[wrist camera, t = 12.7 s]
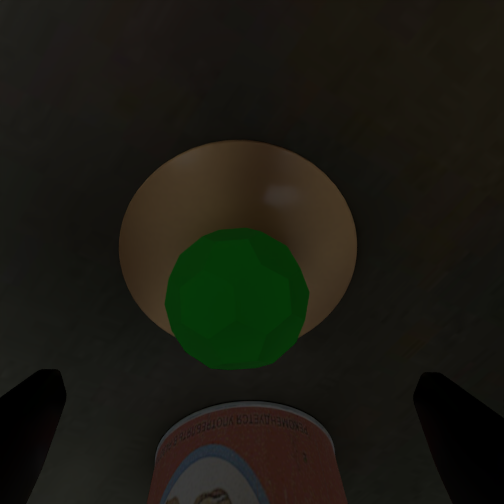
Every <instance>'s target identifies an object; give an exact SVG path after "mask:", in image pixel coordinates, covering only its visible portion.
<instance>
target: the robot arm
mask: <svg viewBox="0 0 504 504" xmlns="http://www.w3.org/2000/svg"><path fill="white" fill-rule="evenodd" d="M413 400H414V405H415V408H416V411H417V414H418V416H419V419H420V422H421V425H422V428H423V431H424V434H425V437H426V439H427V442H428V445H429V448H430V451H431V454H432V457H433V459H434V462H435V465H436V467H437V469H438V472H439V474H440V476H441V479H442V481H443V483H444V485H445V488H446V490H447V492H448V494H449V496H450V499H451V501H452V503H453V504H504V418H503V417H501V416H500V415H498V414H497V413H496V412H494V411H493V410H492V409H490V408H489V407H487V406H486V405H485V404H483V403H482V402H480V401H479V400H478V399H476V398H475V397H473V396H472V395H471V394H469V393H468V392H466V391H465V390H464V389H462V388H461V387H460V386H458V385H457V384H455V383H454V382H453V381H451V380H450V379H448V378H447V377H446V376H444V375H443V374H441V373H437V372H425V373H423V374H422V375H421V377H420V379H419V382H418V384H417V387H416V389H415V392H414V395H413ZM65 402H66V390H65V386H64V383H63V379H62V376H61V373H60V371H59V370H56V369H41V370H39V371H37V372H35V373H34V374H32V375H31V376H30V377H28V378H27V379H25V380H24V381H23V382H21V383H20V384H18V385H17V386H16V387H14V388H13V389H11V390H10V391H9V392H7V393H6V394H4V395H3V396H2V397H0V504H26V503H27V501H28V498H29V496H30V494H31V492H32V490H33V488H34V486H35V483H36V481H37V479H38V477H39V474H40V472H41V470H42V467H43V464H44V462H45V459H46V456H47V453H48V451H49V448H50V445H51V442H52V439H53V436H54V434H55V431H56V428H57V425H58V422H59V419H60V417H61V414H62V411H63V408H64V405H65Z"/></svg>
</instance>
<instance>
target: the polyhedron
mask: <svg viewBox="0 0 504 504" xmlns="http://www.w3.org/2000/svg"><path fill="white" fill-rule="evenodd" d="M309 294H310V292H309V289H308V287H307V284H306V281H305V279H304V276H303V273H302V271H301V268H300V267H299V265H298V263H297V262H296V260H295V258H294V256H293V255H292V253H291V251H290V250H289V248H288V246H286V245H284V244H283V243H281V242H279V241H277V240H276V239H274V238H272V237H270V236H269V235H267V234H265V233H263V232H261V231H257V230H253V229H250V228H234V229H221V230H217V231H214V232H212V233H209V234H207V235H204V236H202V237H201V238H199V239H198V240H197V241H196V242H195V243H193V244H192V245H191V246H190V247H188V248H187V249H186V250H185V251H184V252H182V253H181V254H180V255H179V257H178V259H177V262H176V264H175V266H174V268H173V270H172V272H171V274H170V277H169V279H168V285H167V291H166V297H165V303H164V305H165V308H166V312H167V316H168V319H169V323H170V327H171V330H172V332H173V334H174V335H175V337H176V338H177V340H178V341H179V343H180V344H181V346H182V347H183V349H184V350H185V352H186V353H188V354H189V355H191V356H192V357H194V358H196V359H197V360H199V361H200V362H202V363H203V364H205V365H206V366H208V367H209V368H211V369H223V370H236V369H248V368H258V367H261V366H265V365H268V364H272V363H274V362H275V361H276V360H277V359H278V358H279V357H281V356H282V355H283V354H284V353H285V352H286V351H287V350H288V349H290V348H291V347H292V346H293V345H294V344H295V343H296V341H297V339H298V337H299V334H300V332H301V329H302V327H303V324H304V322H305V318H306V312H307V306H308V300H309Z"/></svg>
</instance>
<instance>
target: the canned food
mask: <svg viewBox="0 0 504 504" xmlns="http://www.w3.org/2000/svg"><path fill="white" fill-rule="evenodd" d="M147 504H348V503H347V499H346V496H345V492H344V488H343V484H342V481H341V477H340V473H339V470H338V466H337V462H336V459H335V449H334V445H333V441H332V439H331V437H330V435H329V433H328V432H327V430H326V429H325V428H324V427H323V425H321V424H320V423H319V422H318V421H317V420H316V419H314V418H313V417H311V416H310V415H308V414H306V413H304V412H302V411H300V410H297V409H295V408H292V407H289V406H285V405H282V404H277V403H271V402H262V401H240V402H230V403H224V404H220V405H215V406H212V407H208V408H205V409H202V410H200V411H197V412H195V413H193V414H191V415H189V416H187V417H185V418H184V419H182V420H180V421H179V422H178V423H176V424H175V425H174V426H173V427H172V428H170V429H169V430H168V431H167V433H166V434H165V435H164V436H163V438H162V439H161V441H160V443H159V445H158V447H157V451H156V455H155V467H154V472H153V477H152V481H151V486H150V491H149V496H148V500H147Z"/></svg>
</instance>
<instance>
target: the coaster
mask: <svg viewBox="0 0 504 504" xmlns="http://www.w3.org/2000/svg"><path fill="white" fill-rule="evenodd" d="M234 228H250V229H253V230H257V231H261V232H263V233H265V234H267V235H269V236H270V237H272V238H274V239H276V240H277V241H279V242H281V243H283V244H284V245H286V246H288V248H289V250H290V251H291V253H292V255H293V256H294V258H295V260H296V262H297V263H298V265H299V267H300V268H301V271H302V273H303V276H304V279H305V281H306V284H307V287H308V289H309V292H310V294H309V300H308V306H307V312H306V318H305V322H304V324H303V327H302V329H301V332H300V334H299V337H301V336H302V335H304V334H305V333H307V332H309V331H310V330H312V329H313V328H314V327H316V326H317V325H318V324H320V323H321V322H322V321H323V320H324V319H325V318H326V317H327V316H328V315H329V314H330V313H331V312H332V311H333V309H334V308H335V307H336V306H337V304H338V303H339V302H340V300H341V298H342V297H343V295H344V294H345V292H346V290H347V288H348V285H349V283H350V281H351V278H352V275H353V272H354V268H355V263H356V256H357V236H356V229H355V224H354V221H353V217H352V214H351V211H350V209H349V207H348V205H347V203H346V200H345V198H344V197H343V196H342V194H341V193H340V191H339V190H338V188H337V187H336V185H335V184H334V183H333V182H332V181H331V180H330V179H329V178H328V176H327V175H326V174H325V173H324V172H323V171H321V170H320V169H319V168H318V167H316V166H315V165H314V164H313V163H312V162H310V161H308V160H307V159H305V158H303V157H302V156H300V155H299V154H297V153H295V152H292V151H290V150H288V149H285V148H283V147H280V146H277V145H273V144H269V143H266V142H260V141H252V140H225V141H218V142H211V143H207V144H204V145H201V146H197V147H194V148H192V149H189V150H187V151H185V152H183V153H181V154H178V155H177V156H175V157H173V158H172V159H170V160H169V161H167V162H166V163H164V164H163V165H161V166H160V167H159V168H158V169H157V170H156V171H155V172H153V173H152V174H151V175H150V176H149V177H148V178H147V179H146V181H145V182H144V183H143V184H142V185H141V187H140V188H139V189H138V190H137V192H136V193H135V195H134V197H133V198H132V200H131V202H130V203H129V206H128V208H127V210H126V213H125V215H124V218H123V222H122V226H121V230H120V238H119V258H120V264H121V269H122V274H123V276H124V279H125V282H126V285H127V287H128V289H129V291H130V293H131V295H132V296H133V298H134V300H135V301H136V303H137V304H138V305H139V307H140V308H141V309H142V311H143V312H144V313H145V314H146V315H147V316H148V317H149V318H150V319H151V320H152V321H153V322H154V323H156V324H157V325H158V326H159V327H160V328H162V329H163V330H165V331H166V332H168V333H169V334H171V335H172V336H174V337H175V335H174V334H173V332H172V330H171V327H170V323H169V319H168V316H167V312H166V308H165V305H164V303H165V297H166V291H167V285H168V279H169V277H170V274H171V272H172V270H173V268H174V266H175V264H176V262H177V259H178V257H179V255H180V254H181V253H182V252H184V251H185V250H186V249H187V248H188V247H190V246H191V245H192V244H193V243H195V242H196V241H197V240H198V239H199V238H201V237H202V236H204V235H207V234H209V233H212V232H214V231H217V230H221V229H234ZM299 337H298V338H299Z"/></svg>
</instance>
